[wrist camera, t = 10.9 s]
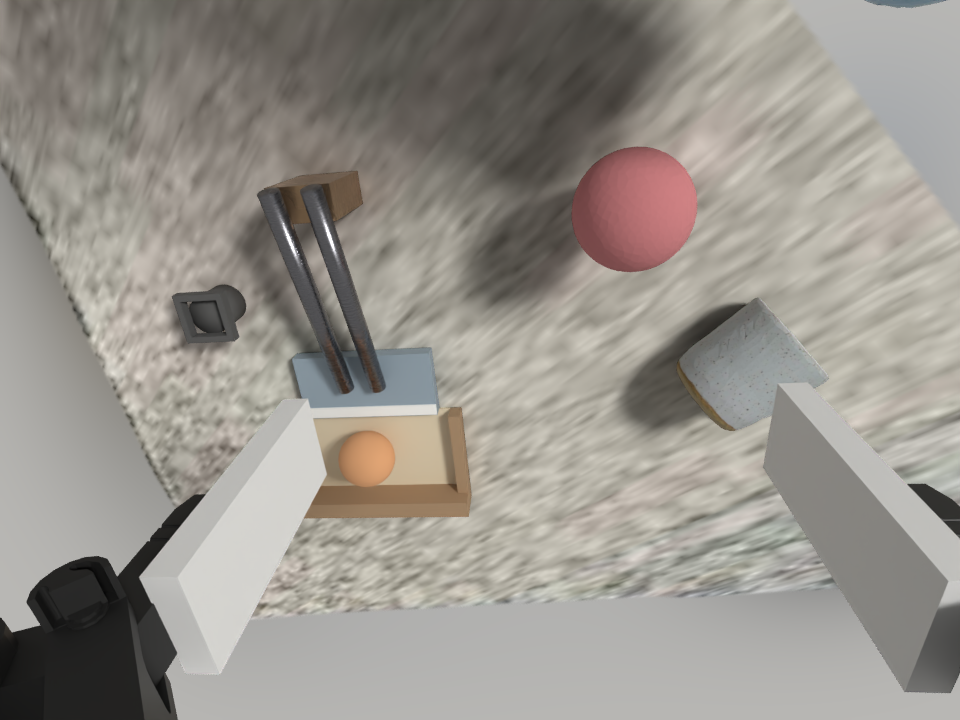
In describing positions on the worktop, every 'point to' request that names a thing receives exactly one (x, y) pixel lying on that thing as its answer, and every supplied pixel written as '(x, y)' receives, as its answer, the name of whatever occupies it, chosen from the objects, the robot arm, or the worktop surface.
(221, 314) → the tee
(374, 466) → the ball
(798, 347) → the ceramic mug
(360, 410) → the block
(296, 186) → the ramp
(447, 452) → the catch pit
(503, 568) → the worktop surface
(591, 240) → the light bulb
